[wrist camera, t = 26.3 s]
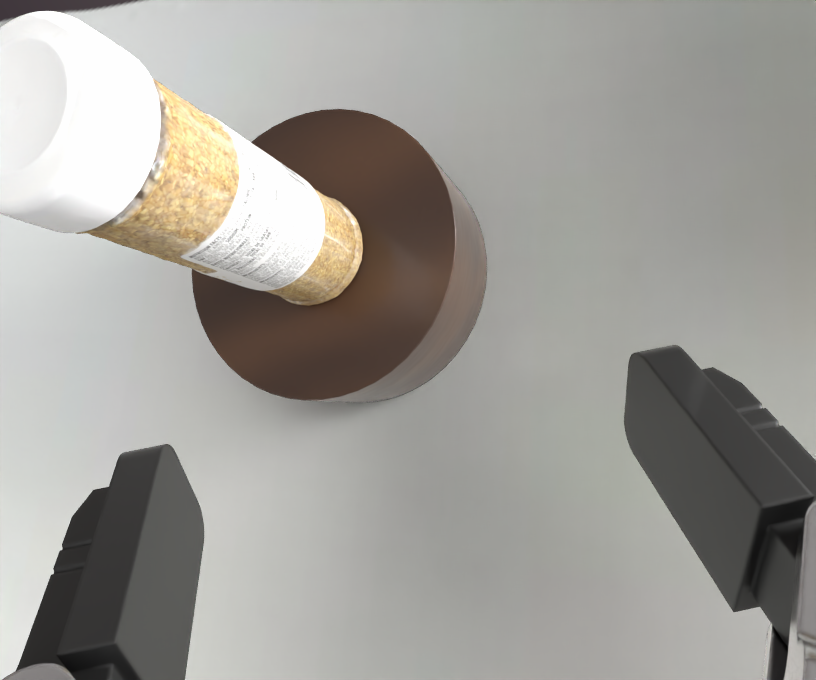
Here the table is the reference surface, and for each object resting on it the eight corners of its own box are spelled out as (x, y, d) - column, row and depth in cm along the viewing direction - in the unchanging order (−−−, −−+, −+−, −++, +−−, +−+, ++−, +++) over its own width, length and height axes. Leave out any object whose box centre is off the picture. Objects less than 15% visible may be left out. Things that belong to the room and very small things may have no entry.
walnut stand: (239, 199, 34) (174, 165, 29) (455, 118, 30) (420, 64, 26) (276, 426, 32) (212, 428, 27) (514, 369, 28) (487, 360, 23)
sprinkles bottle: (249, 250, 27) (-89, 112, 15) (325, 175, 26) (36, -40, 14) (307, 332, 26) (-11, 255, 13) (390, 255, 25) (133, 95, 13)
